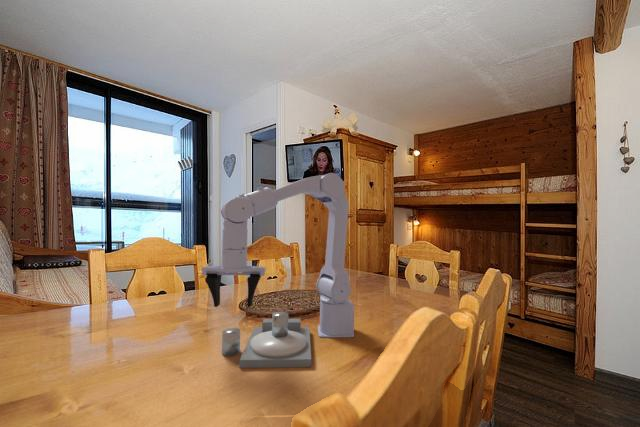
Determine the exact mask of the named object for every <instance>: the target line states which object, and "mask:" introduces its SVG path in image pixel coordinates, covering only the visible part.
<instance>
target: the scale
mask: <svg viewBox="0 0 640 427" xmlns="http://www.w3.org/2000/svg"><path fill="white" fill-rule="evenodd" d="M261 324H262V325H261V326H254V327H253V330H252V331H251V333H250V336H249V338H248V341H247V343H246V345H245V348H244V349H243V352H242V354H241V356H240V358H239V364H238V365H239V369H245V368H246V369H247V368H249V369H250V368H251V369H252V368H253V369H255V368H260V369H261V368H311V367H312V349H311V347H312V345H311V334H310V333H311V332H310V328H311V327H310V326H301V318H288V335H287V336H285V337H273V336H272V318H263V320H262V322H261Z"/></svg>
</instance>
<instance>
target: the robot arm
mask: <svg viewBox="0 0 640 427" xmlns="http://www.w3.org/2000/svg"><path fill="white" fill-rule="evenodd" d="M345 186H346V182H345V181H344V180H343V178H341V176H339V175H338V174H337V173H334V172H329V173H326V174H324V175H323V174H320V175H315V176H314V175H313V176H309V177H305V178H301V179H300V180H297V181H294V182H291V183H289V184H286V185H284V186H281V187H279V188H276V189H272V188H270V187H268V186H266V187H264V186H262V185H261V186H259V187H257V188H256V190H255V191H253V192H252V191H251V192H248V193H246V194H245V193H241V194H238V196H237V197H234V198H232V199H229V200H227V201H225V203H224V204H223V205H222V208H221V210H220V213H221V214H220V215H221V217H222V218H223V223H222V224H223V228H222V241H221V242H222V243H221V244H222V248H221V249H222V250H221V252H222V253H221V255H222V256H221V265H204V266H202V267H201V276H202V277H203V276H205V278H204V281H205V283H206V285H207V287H208V289H209V291H210V294H211V296H212V302H213V307H215V308H218V307H219V306H220V304H221V282H222V276H248V277H247V302H246V306H247V308H251V307H252V305H253V299H254V294H255V293H256V292H255V291H256V289H257V287H258V284H259V282H260V280H261V278H262V277H265V275H266V266H259V265H258V266H257V265H248V262H247V261H248V219H249V218H250V217H251V218H253V217H256V216H258V215H260V214H264V213H266V212H268V211H271V210H274V209H276V207H277V206H278V203H279V202H281V201H283V200H287V199H288V198H291V197H294V196H298V195H302V194H304V195H307V196H308V195H310V196H311V197H312V198H314V199H316V200H317V201H319V202H320V203H322V204H323V206H325V207H326V208H327V210H328V223H327V234H326V236H327V238H326V247H325V248H326V249H325V260H324V261H325V262H324V265H323V267H321V269H320V272H319V273H320V274H319V277H318V278H317V281H316V284H315V286H316V290H317V292H318V293H319V296H320V297H319V324H318V325H317V332H318V337H319V338H355V334H354V333H355V307H354V302H353V300H350V299H349V297H350V296H351V293H352V288H351V284H350V274H349V273H348V271H347V268H345V261H346V245H347V232H348V221H349V206H350V203H349V200H348V198H347V195H346V190H345V189H346V188H345ZM348 299H349V300H348Z"/></svg>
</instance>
